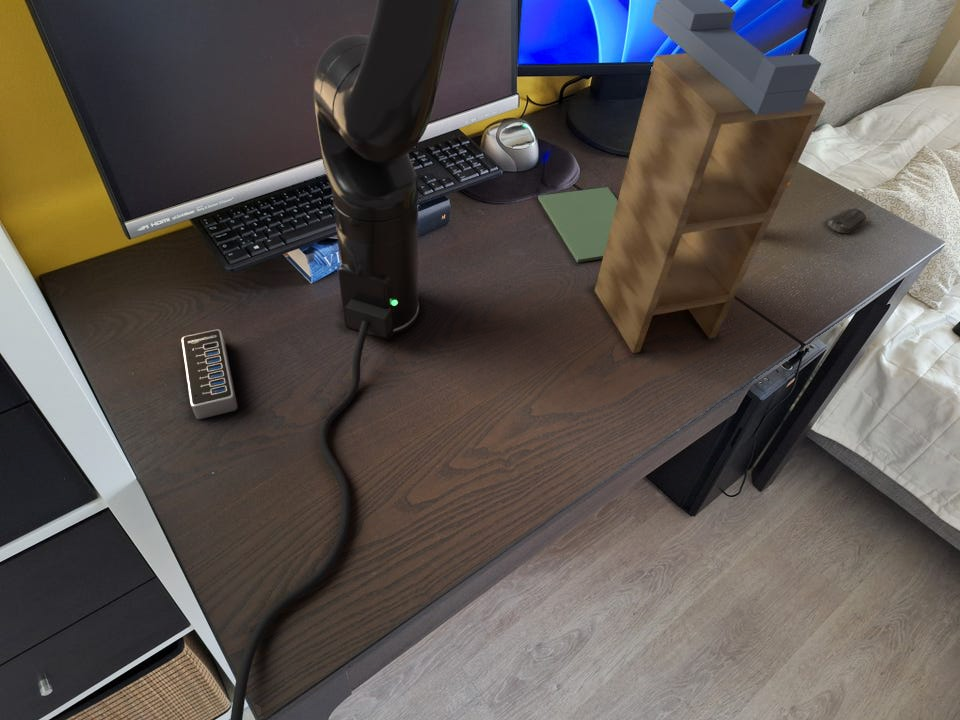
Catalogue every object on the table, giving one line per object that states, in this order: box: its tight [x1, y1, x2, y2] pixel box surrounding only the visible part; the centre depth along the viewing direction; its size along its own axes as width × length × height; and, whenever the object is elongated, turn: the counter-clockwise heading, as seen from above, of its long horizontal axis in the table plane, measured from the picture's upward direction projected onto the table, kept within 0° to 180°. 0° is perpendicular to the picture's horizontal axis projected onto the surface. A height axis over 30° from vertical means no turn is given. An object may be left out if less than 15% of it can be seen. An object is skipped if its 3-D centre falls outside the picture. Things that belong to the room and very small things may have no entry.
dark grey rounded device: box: [827, 208, 867, 234], centre depth 105 cm, size 4×6×2 cm, turn 130°
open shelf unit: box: [594, 52, 827, 354], centre depth 77 cm, size 12×12×32 cm
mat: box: [537, 186, 618, 264], centre depth 101 cm, size 16×12×1 cm
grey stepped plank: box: [650, 0, 822, 115], centre depth 66 cm, size 21×5×4 cm, turn 17°
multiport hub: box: [181, 329, 239, 420], centre depth 76 cm, size 4×11×2 cm, turn 22°
